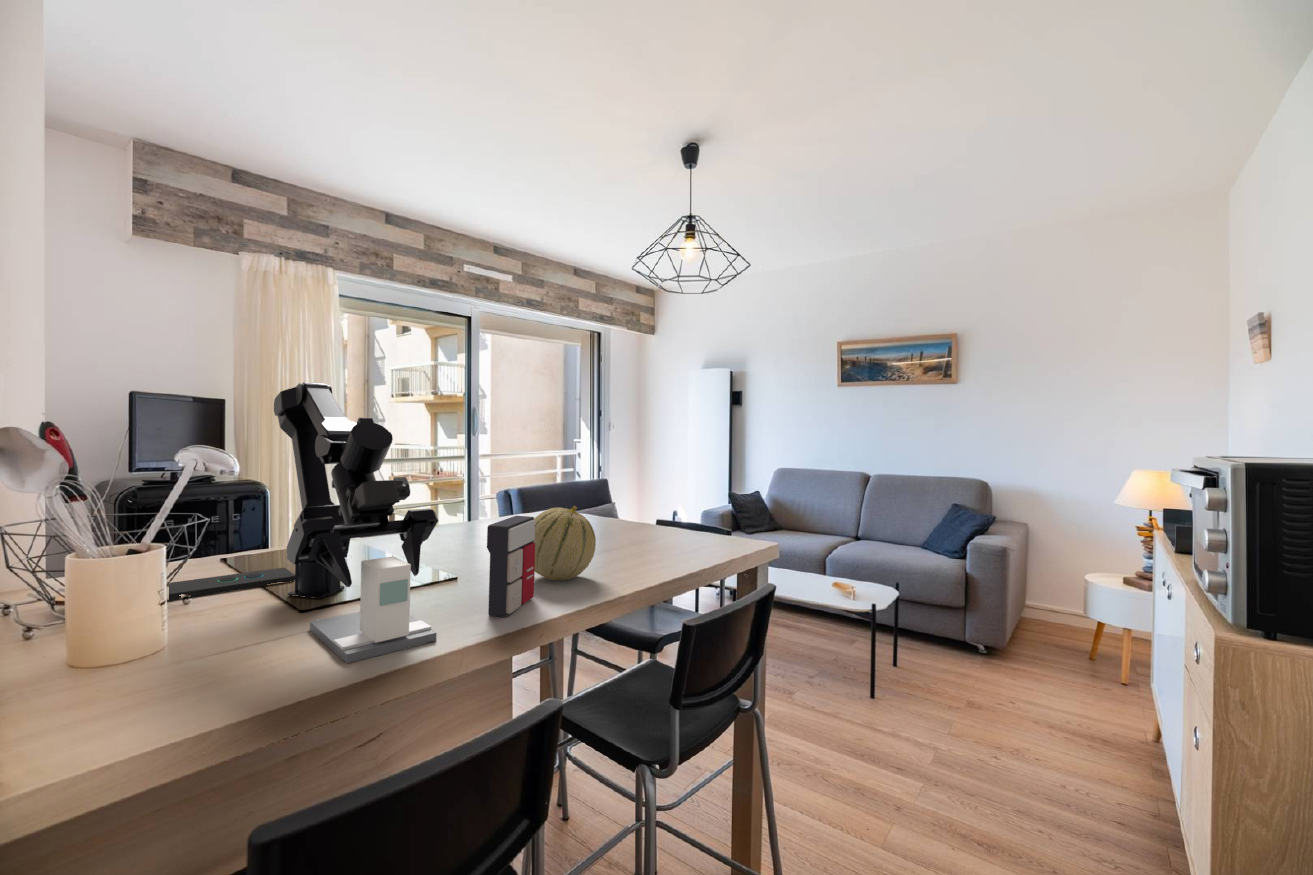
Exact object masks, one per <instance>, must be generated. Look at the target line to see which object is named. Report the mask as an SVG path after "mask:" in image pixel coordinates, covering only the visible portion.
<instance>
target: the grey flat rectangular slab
mask: <svg viewBox="0 0 1313 875" xmlns="http://www.w3.org/2000/svg"><path fill="white" fill-rule="evenodd" d="M309 630H310V631H311V632H312V633H313V634H314V635H315V636H316V637H317V638H318V639H320V640H321V641H322V642H323V643H324V644H325V645H326V646H327V647H328V648H329V649H330V650H332V652H334V654H336V655H337V656H338V657H339V658H340V659H341V660H342V661H343V662H344V663H346V664H350V663H351V664H352V663H354V662H358V661H362V659H363V660H366V659H369V658H374V657H378V656H382V655H385V654H389V653H394V652H397V650H398V651H401V650H404V649H410V648H413V646H414V647H417V646H421V645H425V644H428V642H429V643H432V642H431V641H433V642H436V641H437V632H436V631H435V630H432V626H431V625H430V624H428V623H426V622H425V621H423V620H421V619H420V620H417V619H416V618H414V617H413V616H410V615H409V635H406V636H402V637H398V638H394V639H389V640H385V641H381V642H377V643H375V642H374V641H373V640H371V639H370V638H369V637H368V636H366V635H365V634H364V633H362V632H361V631H360V611H356V612H351V613H347V614H342V615H336V616H332V617H331V616H330V617H326V618H321V619H314V620H312V621H311V620H310V621H309ZM424 643H425V644H424ZM409 647H410V648H409ZM393 651H394V652H393Z"/></svg>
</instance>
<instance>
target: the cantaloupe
mask: <svg viewBox="0 0 1313 875" xmlns="http://www.w3.org/2000/svg"><path fill="white" fill-rule="evenodd" d="M577 509H578V507H577V506H575V505H573V507H571V508H570V509H569V508H565V507H551V508H548V509H546V510H544V511H542V512H541V513H539V514H538V515H536V517H534V520H535V539H534V543H535V573H536V574H537V575H539V576H541V577H542V578H544V579H547V580H548V579H549V580H550V581H566V580H571V579H574V578H576V577H578V576H579V575H581V574H582V573H583V572H584V571H585V570H586V569H587V568H588V567H589V565H590V563H591V562H592V560H593V558H594V555H595V552H596V534H595V530H594V528H593V525H592V524H591V522H590V521H589V519H587V518H586V517H585V516H584V515H583V514H581V513H579V512H578V511H576V510H577Z"/></svg>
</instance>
